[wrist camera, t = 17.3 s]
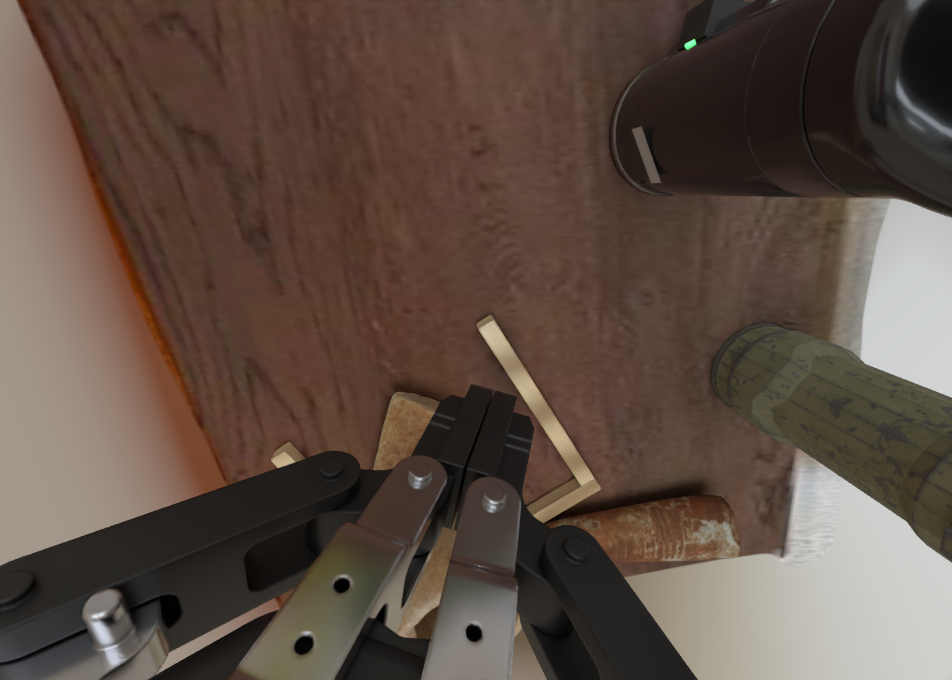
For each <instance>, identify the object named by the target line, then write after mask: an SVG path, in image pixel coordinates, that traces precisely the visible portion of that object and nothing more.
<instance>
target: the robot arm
mask: <svg viewBox="0 0 952 680" xmlns="http://www.w3.org/2000/svg"><path fill="white" fill-rule="evenodd" d="M610 146H611V152H612V156H613V159H614V162H615V165H616V167H617V169H618V170H619V172H620V174H621V175H622V177H623V178H624V179H625V180H626V181H627V182H628V183H629V184H630V185H631V186H633V187H634V188H636V189H637V190H639V191H641V192H644V193H647V194H650V195H658V196H670V195H716V196H767V197H826V198H879V199H899V200H904V201H908V202H911V203H913V204H916V205H918V206H921V207H923V208H926V209H928V210H931V211H933V212H936V213H939V214H941V215H944V216H947V217H951V218H952V0H756V1H754V2H752V3H750V2H746V1H742V0H705V1H704V2H702V3H701V4H699V5H698V6H696V7H694V8H693V9H691V10H690V11H688V12H687V14H686V17H685V21H684V25H683V29H682V33H681V37H680V41H679V44H677V45H675V46H673V47H672V48H671V50H670V51H669V53H668V55H667V56H666V57H665V58H664V59H661V60H659V61H657V62H655V63H653V64H651V65H649V66H648V67H646V68H645V69H643V70H642V71H641V72H639V73H638V74H637V75H636V76H635V77H634V78H633V79H632V80H631V81H630V82H629V84H628V85H627V86H626V88H625V89H624V91H623V92H622V94H621V96H620V98H619V100H618V101H617V104H616V106H615V109H614V112H613V116H612V120H611V126H610ZM493 392H494V390H491V389H488V388H484V387H481V386H477V385H473V384H471V386H470V388H469V390H468V392H467V395H466V397H465V398H461V397H458V396H454V395H450V396H449V397H447V398H446V399H444V400H443V401H441V402H440V403H439V405H438V407H437V409H436V411H435V413H434V415H433V416H432V418H431V420H430V422H429V424H428V425H427V427H426V429H425V431H424V433H423V434H422V436H421V438H420V440H419V442H418V443H417V445H416V447H415V449H414V451H413V453H412V454H411V456H409V457H406V458H404V459H402V460H401V461H399V462H398V463H397V464H396V466H395V467H394V468H392V469H387V470H364V469H360V464H359V462H358V461H357V460H356V458H354V457H353V456H352V455H350V454H348V453H345V452H341V451H328V452H324V453H320V454H317V455H314V456H311V457H309V458H306V459H303V460H300V461H297V462H294V463H291V464H288V465H286V466H283V467H280V468H277V469H274V470H271V471H268V472H265V473H263V474H260V475H257V476H254V477H251V478H248V479H245V480H242V481H240V482H237V483H234V484H231V485H228V486H225V487H223V488H219V489H217V490H214V491H211V492H208V493H205V494H202V495H199V496H196V497H194V498H191V499H188V500H185V501H182V502H179V503H176V504H173V505H171V506H168V507H165V508H162V509H159V510H156V511H153V512H150V513H147V514H145V515H142V516H139V517H136V518H133V519H130V520H127V521H124V522H122V523H119V524H116V525H113V526H110V527H107V528H104V529H101V530H99V531H96V532H93V533H90V534H87V535H84V536H81V537H79V538H76V539H73V540H70V541H67V542H64V543H61V544H58V545H55V546H52V547H50V548H47V549H44V550H41V551H38V552H35V553H32V554H29V555H27V556H24V557H21V558H18V559H15V560H13V561H10V562H8V563H6V564H3V565H1V566H0V680H511V670H512V657H513V645H514V633H515V621H516V612H517V613H518V614H519V618H520V623H521V626H522V628H523V630H524V632H525V635H526V637H527V639H528V641H529V643H530V645H531V647H532V649H533V651H534V653H535V655H536V658H537V660H538V661H539V664H540V666H541V668H542V670H543V672H544V674H545V676H546V678H547V680H697V678H696V677H695V675H694V674H693V673H692V672H691V670H690V668H689V667H688V666H687V665H686V663H685V662H684V660H683V659H682V657H681V656H680V655H679V653H678V652H677V650H676V649H675V648H674V646H673V645H672V644H671V642H670V641H669V639H668V638H667V637H666V635H665V634H664V632H663V631H662V630H661V628H660V627H659V626H658V624H657V623H656V621H655V620H654V619H653V617H652V616H651V614H650V613H649V612H648V611H647V609H646V608H645V606H644V605H643V603H642V602H641V601H640V599H639V598H638V596H637V595H636V594H635V592H634V591H633V590H632V588H631V587H630V585H629V584H628V583H627V581H626V580H625V578H624V577H623V576H622V574H621V573H620V571H619V570H618V569H617V567H616V566H615V565H614V563H613V562H612V560H611V559H610V558H609V556H608V555H607V553H606V552H605V551H604V549H603V548H602V547H601V545H600V544H599V542H598V541H597V540H596V539H595V538H594V537H593V536H592V535H591V534H589V533H588V532H587V531H585V530H583V529H581V528H579V527H576V526H572V525H560V526H557V527H554V528H553V529H552V528H550V527H548V526H547V525H545V524H544V523H542V522H541V521H539V520H538V519H536V518H535V517H534V516H533V515H532V514H531V513H530V511H529V510H528V509H527V507H526V506H525V503H524V501H523V497H522V489H523V484H524V479H525V474H526V469H527V464H528V458H529V453H530V448H531V442H532V438H533V433H534V427H533V425H532V422H531V419H530V417H528V416H525V415H521V414H518V413H514V408H515V404H516V400H517V397H516V396H513V395H509V394H506V393H502V392H499V391H495V393H494V395H493ZM492 397H493V398H492ZM457 511H458V512H457ZM456 514H457V516H456ZM455 517H456V521H455V526H454V530H455V531H457V533H456V538H455V542H454V546H453V550H452V554H451V558H450V561H449V565H448V569H447V573H446V577H445V582H444V586H443V590H442V594H441V598H440V602H439V606H438V610H437V615H436V619H435V623H434V627H433V631H432V635H431V639H421V638H406V637H402V636H399V635H398V634H397V633H398V630H399V626H400V624H401V621H402V618H403V616H404V614H405V611H406V609H407V607H408V605H409V603H410V601H411V599H412V597H413V594H414V592H415V590H416V588H417V586H418V584H419V582H420V579H421V577H422V575H423V573H424V571H425V569H426V567H427V565H428V562H429V560H430V558H431V556H432V554H433V551H434V546H435V545H436V543H437V541H438V538H439V536H440V533H441V530H442V528H443V527H445V528H448V529H452V526H453V523H454V520H455ZM293 588H295V589H294V590H293V591H292V593H291V594H290V596H289V597H288V598H287V600H286V601H285V602H284V604H283V605H282V606H281V608H280V609H279V610H277V611H274V612H271V613H268V614H265V615H263V616H261V617H258V618H256V619H254V620H252V621H250V622H249V623H247V624H245V625H243V626H241V627H240V628H238V629H236V630H234V631H233V632H231V633H229V634H228V635H226V636H224V637H222V638H220V639H219V640H217V641H215V642H213V643H212V644H210V645H208V646H206V647H204V648H202V649H201V650H199V651H197V652H196V653H194V654H192V655H190V656H188V657H187V658H185V659H183V660H181V661H180V662H178V663H176V664H174V665H172V666H171V667H169V668H167V669H165V670H164V671H162V672H160V673H158V674H157V672H158V671H159V670H160V669H161V667H162V665H163V664H164V662H165V660H166V658H167V656H168V653H169V652H171V651H172V650H175V649H176V648H179V647H181V646H182V645H184V644H186V643H188V642H190V641H192V640H194V639H196V638H198V637H200V636H202V635H204V634H206V633H207V632H209V631H211V630H213V629H215V628H217V627H219V626H221V625H223V624H225V623H227V622H229V621H231V620H233V619H235V618H236V617H239V616H240V615H242V614H244V613H246V612H248V611H250V610H252V609H254V608H256V607H258V606H260V605H262V604H263V603H265V602H268V601H269V600H271V599H273V598H275V597H277V596H279V595H281V594H283V593H285V592H287V591H289V590H291V589H293ZM156 674H157V675H156Z"/></svg>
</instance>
